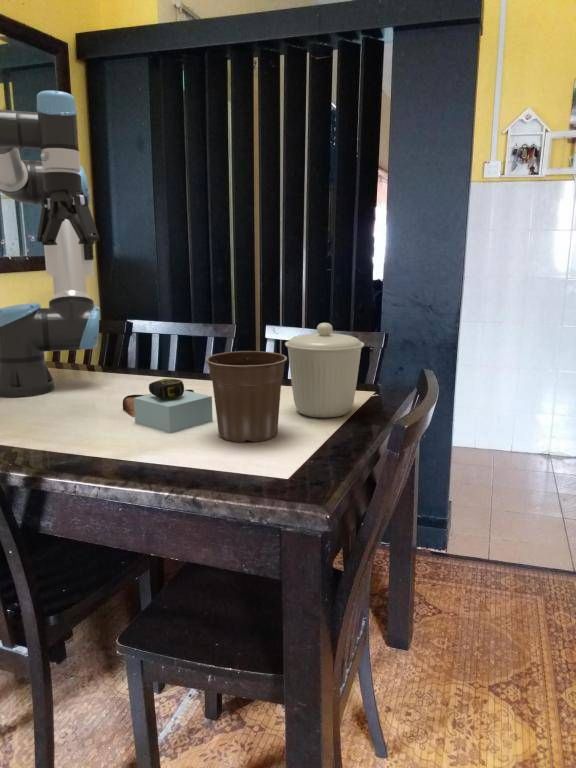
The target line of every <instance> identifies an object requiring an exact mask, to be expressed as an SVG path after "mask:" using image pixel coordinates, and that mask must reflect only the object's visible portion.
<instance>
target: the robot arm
mask: <svg viewBox="0 0 576 768" xmlns="http://www.w3.org/2000/svg"><path fill="white" fill-rule="evenodd" d="M36 111H37V112H36ZM36 111H35V112H34V111H24V110H23V111H21V110H10V109H9V110H8V109H0V193H2V195H4V196H5V197H7V198H10V199H11V200H14V201H16V202H19V203H23V204H27V205H41V210H40V211H41V213H40V219H39V225H38V229H37V237H36V241H37V242H38V243H41V244H42V246H43V250H44V260H45V271H46V276H52V283H53V296H52V298H50V299H49V300H48V307H44V308H42V306H41V304H40V303H39V302H29V303H22V304H21V303H20V304H14V305H9V306H5V307H1V308H0V397H2V398H3V397H5V398H22V397H23V398H24V397H31V396H32V397H33V396H38V395H42V394H43V395H44V394H47V393H49V392H50V393H51V392H52V391H53V390H54V389H55V383H54V378H53V377H52V375H51V371H50V369H49V367H48V366H47V363H46V358H45V352H61V351H64V352H65V351H82V350H90V349H91V350H92V349H94V348H96V347H97V345H98V344H99V343H98V342H99V332H100V313H101V312H100V307H99V306H97V305H95V304H94V299H93V298H92V297H91V296H89V295H88V290H87V277H95V267H94V257H95V256H94V247H93V246H94V244H95V243H96V242H99V240H100V235H99V233H98V230H97V227H96V224H95V221H94V218H93V215H92V213H91V210H90V205H91V204H90V203H91V197H90V191H89V185H88V180H87V175H86V172H85V170H84V167H83V165H81V159H80V158H81V157H80V148H79V133H78V120H77V119H78V117H77V114H78V112H77V111H78V110H77V106H76V100H75V97H74V96H73V95H72V94H70V93H68V92H65V91H62V90H61V91H59V90H41V91H40V92H38V93H37V94H36ZM20 149H25V150H26V149H27V150H40V151H41V154H40V158H41V160H31V159H30V160H29V159H21V154H20Z"/></svg>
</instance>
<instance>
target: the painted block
mask: <svg viewBox="0 0 576 768" xmlns="http://www.w3.org/2000/svg"><path fill="white" fill-rule="evenodd" d="M185 390H186V389H184V392H183V395H182V396H179V397H176V398H166V399H160V398H159V397H157V396H155V395H153V394H151V393H149V394H150V395H146V394H144V395H145V396H140V397H136V398H134V412H135V417H134V422H135V424H138V425H141V426H143V427H148V428H151V429H154V430H158V431H161V432H165V433H168V434H173V433H175V432H179V431H184V430H185V429H186V430H187V429H190V428H192V427H193V428H194V427H197V426H200V425H203V424H207V423H211V422H213V396H211V395H207V394H203V393H199V392H195V391H194V392H190V391H185Z"/></svg>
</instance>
